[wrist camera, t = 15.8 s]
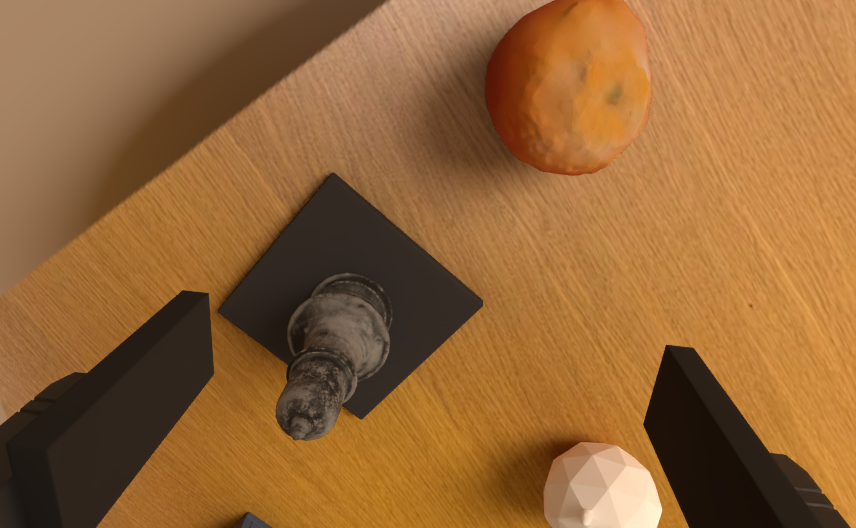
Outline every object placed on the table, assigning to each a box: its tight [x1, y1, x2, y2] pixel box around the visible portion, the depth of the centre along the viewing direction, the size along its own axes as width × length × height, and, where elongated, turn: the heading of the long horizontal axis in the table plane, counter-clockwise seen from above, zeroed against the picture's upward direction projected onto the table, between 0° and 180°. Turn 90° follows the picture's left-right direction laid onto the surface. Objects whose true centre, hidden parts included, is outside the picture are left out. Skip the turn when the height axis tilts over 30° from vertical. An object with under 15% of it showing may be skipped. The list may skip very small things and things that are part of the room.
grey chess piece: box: [276, 273, 393, 441], centre depth 29 cm, size 6×6×12 cm
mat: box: [218, 173, 483, 420], centre depth 35 cm, size 12×12×1 cm
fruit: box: [485, 0, 652, 176], centre depth 27 cm, size 8×8×8 cm
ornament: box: [543, 442, 662, 528], centre depth 35 cm, size 7×7×8 cm
